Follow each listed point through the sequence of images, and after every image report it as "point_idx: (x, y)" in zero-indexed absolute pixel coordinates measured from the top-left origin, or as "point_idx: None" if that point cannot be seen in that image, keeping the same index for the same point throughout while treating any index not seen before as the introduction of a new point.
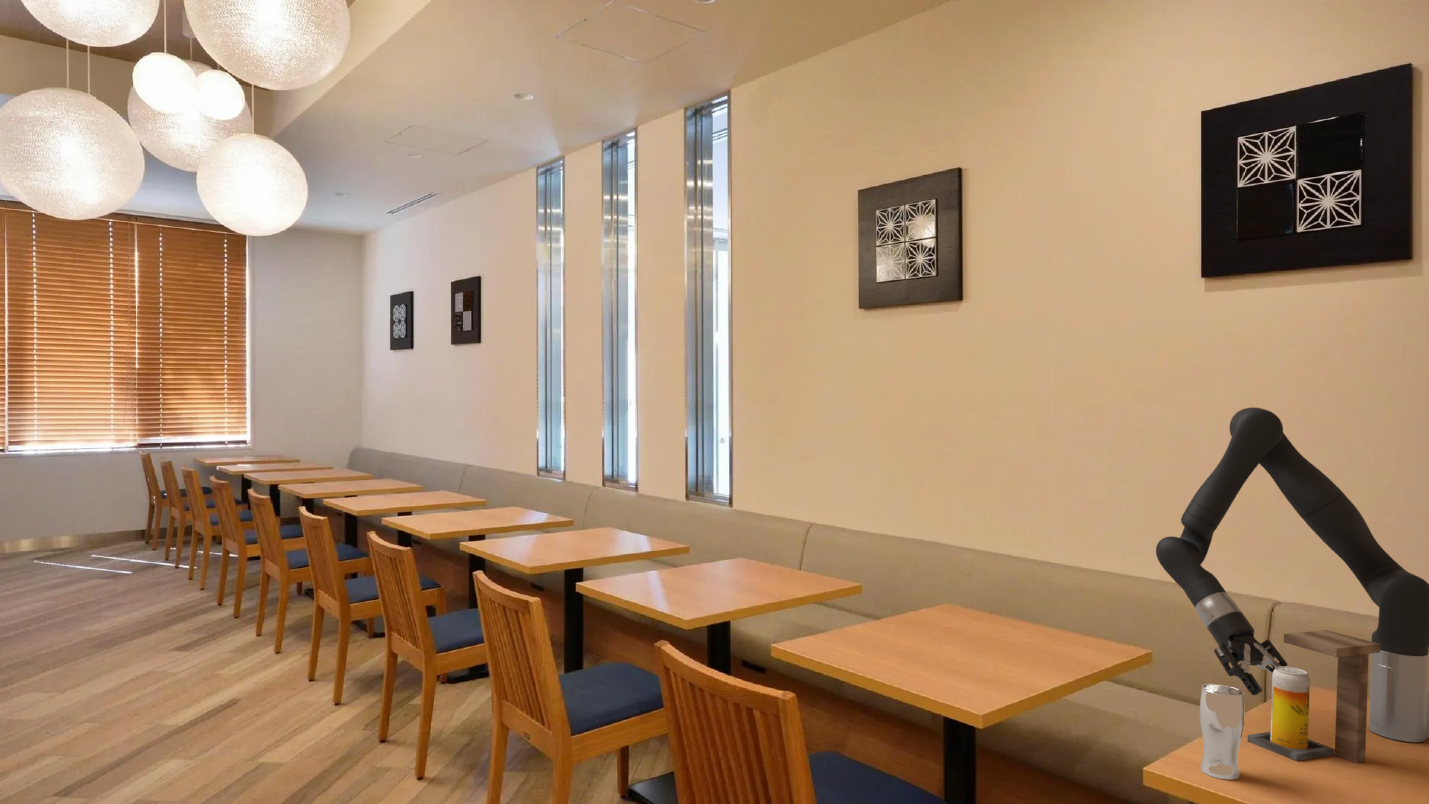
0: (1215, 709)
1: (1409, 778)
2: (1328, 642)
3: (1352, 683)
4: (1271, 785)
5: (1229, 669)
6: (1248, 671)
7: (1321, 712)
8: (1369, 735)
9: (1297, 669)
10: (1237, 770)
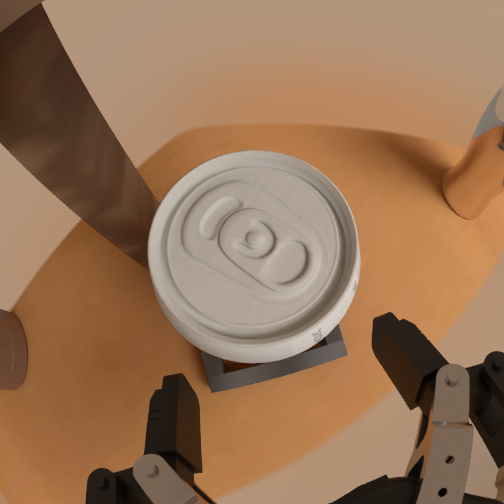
0: None
1: (143, 170)
2: None
3: (90, 115)
4: (408, 151)
5: (487, 409)
6: (442, 374)
7: (46, 468)
8: (38, 358)
9: (162, 279)
10: (451, 168)
